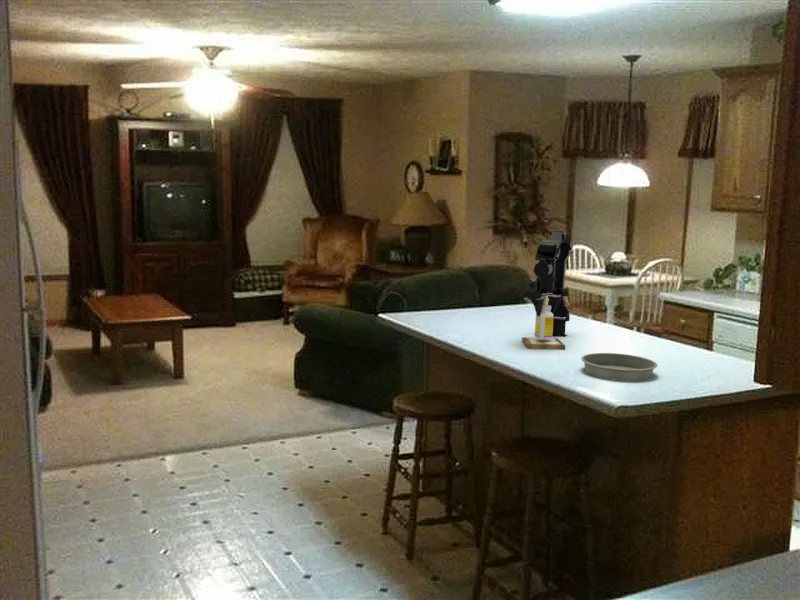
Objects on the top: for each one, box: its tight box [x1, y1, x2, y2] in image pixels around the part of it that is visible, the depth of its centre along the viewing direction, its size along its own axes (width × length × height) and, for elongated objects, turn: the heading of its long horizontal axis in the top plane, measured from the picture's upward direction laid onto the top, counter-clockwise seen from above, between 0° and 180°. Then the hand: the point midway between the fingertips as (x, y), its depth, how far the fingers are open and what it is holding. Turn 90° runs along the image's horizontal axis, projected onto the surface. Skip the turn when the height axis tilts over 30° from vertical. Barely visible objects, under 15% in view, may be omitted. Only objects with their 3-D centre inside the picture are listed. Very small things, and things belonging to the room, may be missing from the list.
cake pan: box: [580, 352, 658, 382], centre depth 276 cm, size 25×25×4 cm
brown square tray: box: [521, 337, 566, 351], centre depth 318 cm, size 14×14×2 cm
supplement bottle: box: [534, 304, 553, 340], centre depth 317 cm, size 7×7×13 cm
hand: (544, 315), depth 316 cm, fingers closed on supplement bottle, 6 cm apart
